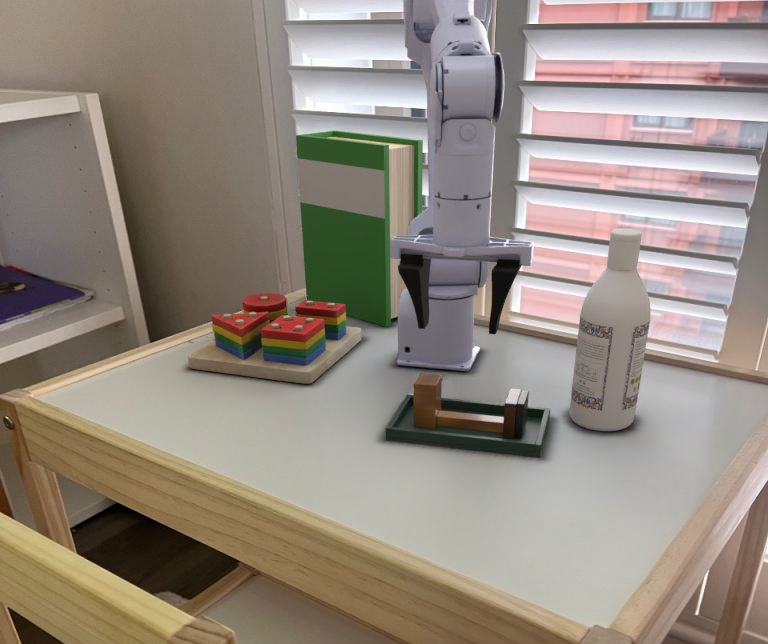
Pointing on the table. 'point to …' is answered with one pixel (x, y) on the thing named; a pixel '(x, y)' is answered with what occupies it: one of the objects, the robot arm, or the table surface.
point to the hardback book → (357, 217)
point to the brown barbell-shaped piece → (432, 416)
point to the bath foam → (612, 340)
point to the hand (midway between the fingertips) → (458, 328)
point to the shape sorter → (277, 340)
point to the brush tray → (470, 439)
